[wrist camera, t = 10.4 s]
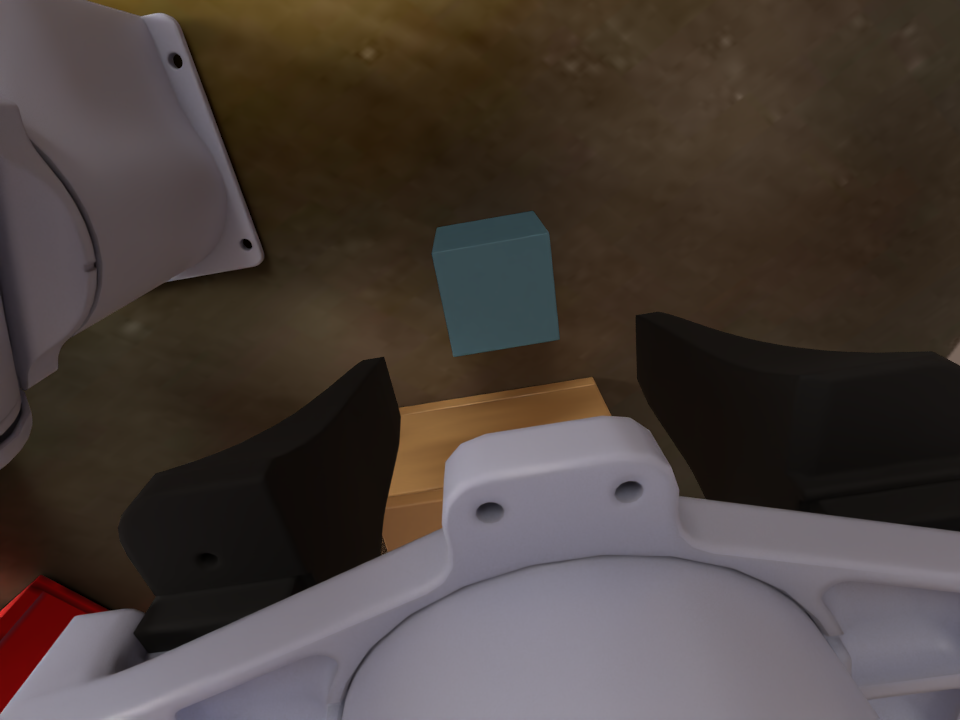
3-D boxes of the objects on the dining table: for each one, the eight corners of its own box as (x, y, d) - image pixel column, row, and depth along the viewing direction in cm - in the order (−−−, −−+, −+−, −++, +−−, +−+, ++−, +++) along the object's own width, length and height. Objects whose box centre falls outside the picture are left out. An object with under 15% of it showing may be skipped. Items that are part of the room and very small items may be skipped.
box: (592, 376, 26) (632, 457, 20) (603, 540, 31) (638, 643, 25) (394, 407, 26) (375, 496, 20) (439, 564, 32) (435, 671, 26)
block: (436, 227, 22) (431, 253, 18) (533, 210, 22) (549, 232, 18) (454, 317, 24) (453, 357, 20) (543, 302, 24) (560, 340, 20)
